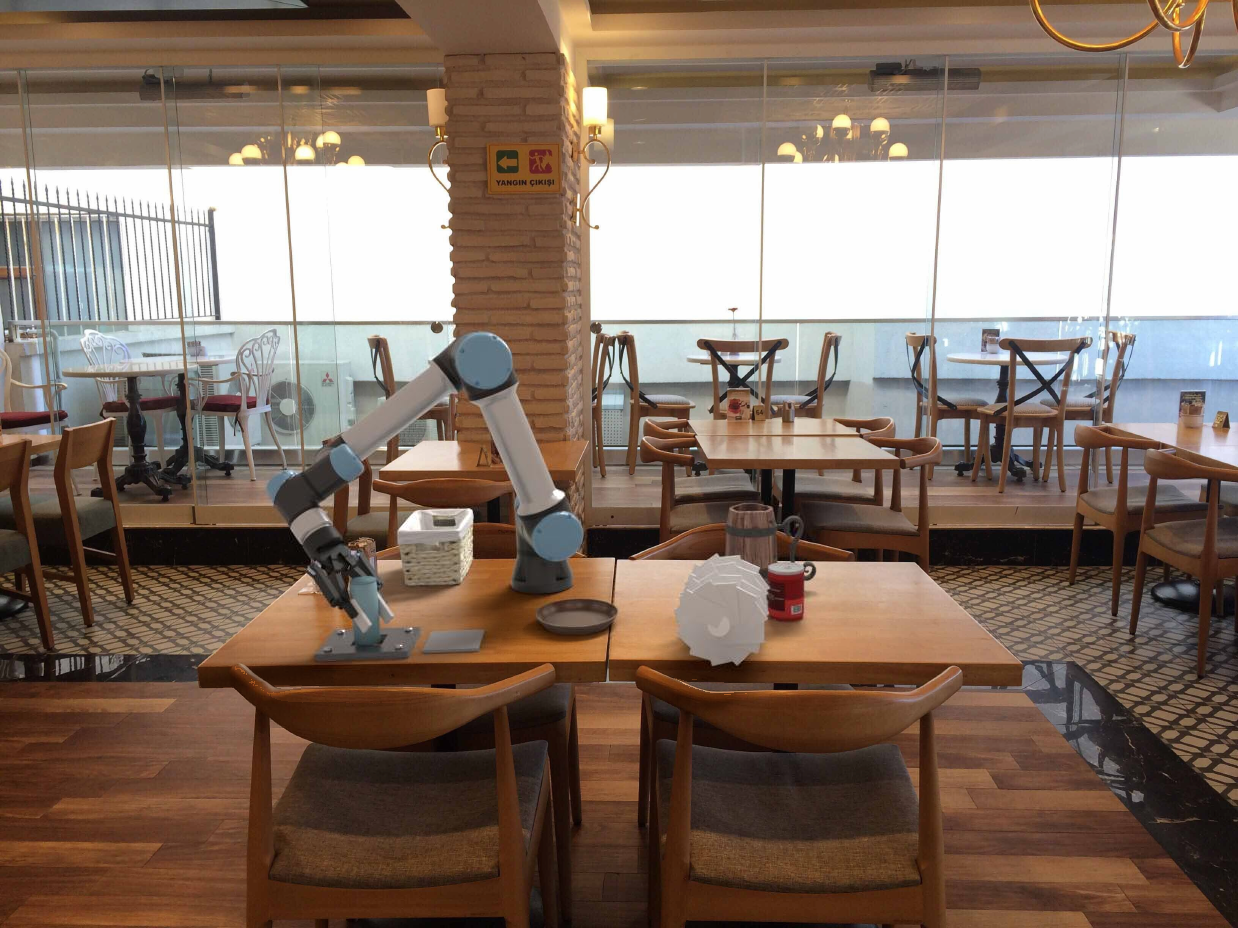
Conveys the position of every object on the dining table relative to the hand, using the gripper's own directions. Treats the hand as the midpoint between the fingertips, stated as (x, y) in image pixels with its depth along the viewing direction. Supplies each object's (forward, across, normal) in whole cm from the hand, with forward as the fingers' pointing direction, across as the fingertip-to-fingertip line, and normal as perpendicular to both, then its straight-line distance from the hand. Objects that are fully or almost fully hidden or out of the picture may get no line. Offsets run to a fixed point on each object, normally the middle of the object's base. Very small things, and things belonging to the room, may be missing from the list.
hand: (378, 624), depth 188 cm
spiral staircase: (+46, -34, +38) cm, 69 cm away
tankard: (+40, -73, +31) cm, 89 cm away
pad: (+11, -11, +3) cm, 16 cm away
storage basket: (-16, -46, -25) cm, 55 cm away
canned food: (+48, -58, +40) cm, 85 cm away
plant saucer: (+22, -33, +13) cm, 42 cm away
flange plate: (+1, 0, -6) cm, 7 cm away
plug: (0, 0, -6) cm, 6 cm away
